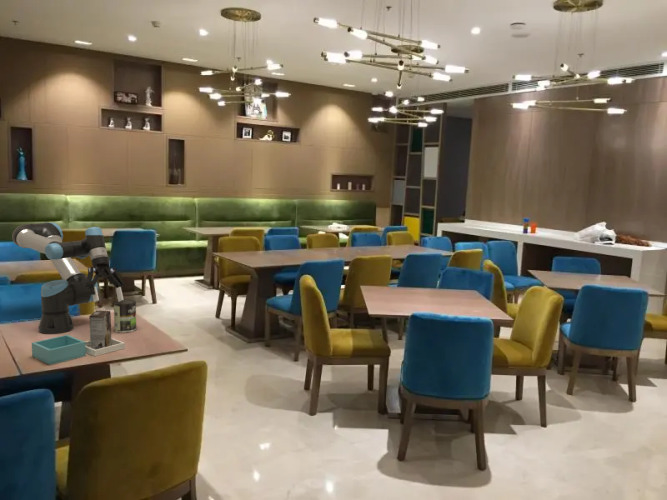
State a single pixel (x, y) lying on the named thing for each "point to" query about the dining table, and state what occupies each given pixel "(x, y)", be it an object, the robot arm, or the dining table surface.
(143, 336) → the dining table surface
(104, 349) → the collar
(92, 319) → the coffee box
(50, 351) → the bin
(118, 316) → the coffee can
